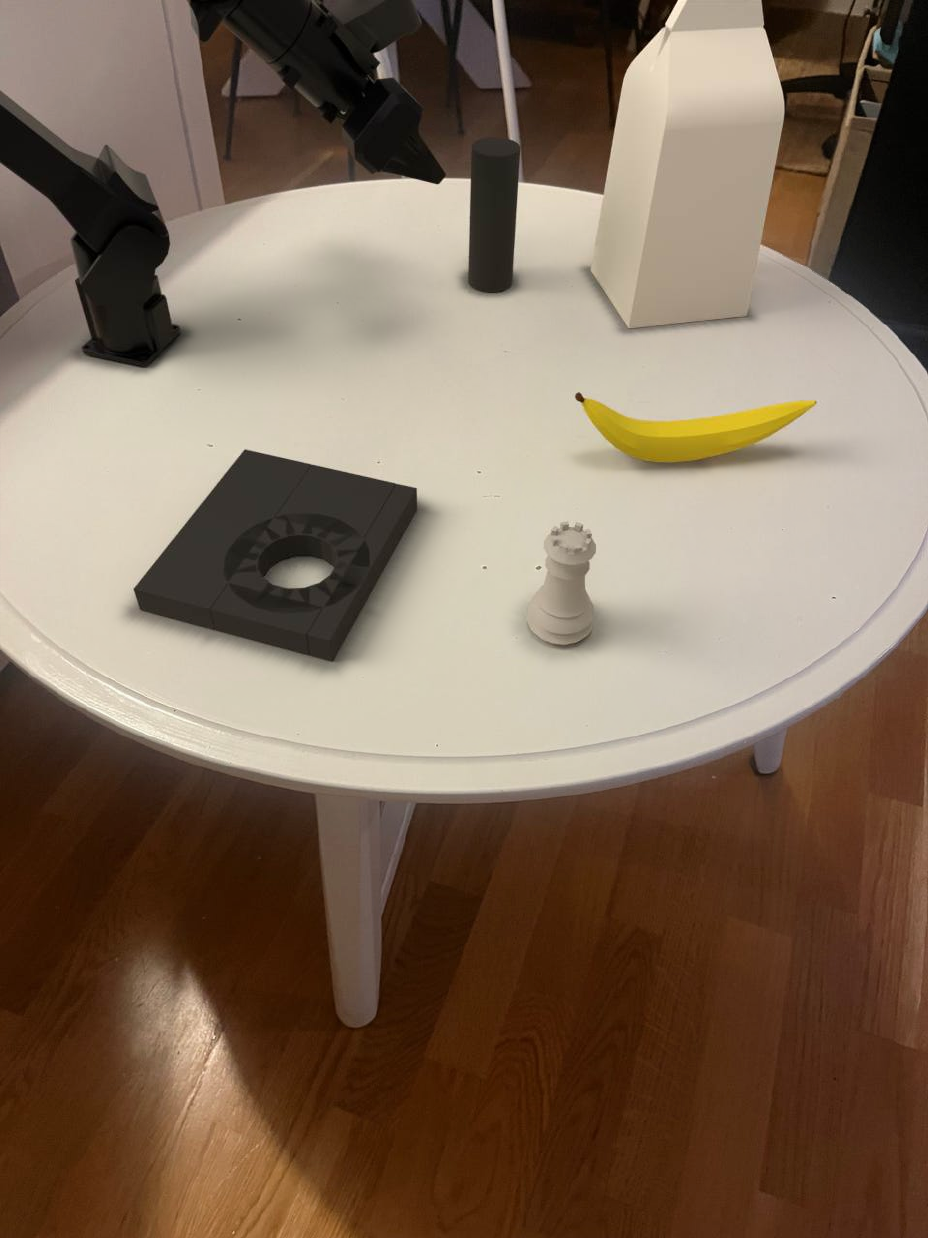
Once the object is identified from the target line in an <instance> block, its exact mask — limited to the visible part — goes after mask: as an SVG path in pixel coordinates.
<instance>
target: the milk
mask: <svg viewBox="0 0 928 1238" xmlns="http://www.w3.org/2000/svg"><path fill="white" fill-rule="evenodd" d="M763 11H764V10H763V3H762V0H677V2H676V4H675V5H674V6H673V9H672V11H671V13H670V14H669V16H668V18H667V20H666V22H665V24H664V25H665V26H664V27H662V28H661V29H660V30H659V32H657V34H655V36H654V37H653V38H652V39H651V40H650V41H649V42H648V43H647V45H645V47H644V48H643V49H642V50H641V51H640V52H639V53H638V55H636V57H635V58H633V60H632V61H631V63H630V64H629V66H628V68H627V69H626V72H625V74H624V77H623V81H622V86H621V90H620V97H619V102H618V108H617V113H616V120H615V125H614V131H613V137H612V143H611V150H610V155H609V160H608V167H607V171H606V173H607V174H606V178H605V184H604V190H603V195H602V202H601V206H600V207H601V208H600V214H599V219H598V223H597V224H598V225H597V231H596V236H595V242H594V248H593V254H592V259H591V266H590V272H591V273H592V275H593V276H594V279H596V281H597V283H598V284H599V285H600V287H601V289H602V290H603V291H604V293H605V295H606V296H607V298H608V299H609V301H610V302H611V304H612V305H613V307H614V308H615V310H616V312H617V313H618V314H619V316H620V318H621V320H622V321H623V322H624V324H625V325H626V327H627V328H628V329H636V328H646V327H655V326H665V325H676V324H684V323H694V322H702V321H703V322H704V321H714V320H723V319H731V318H732V319H733V318H744V317H748V313H749V309H750V303H751V297H752V291H753V286H754V281H755V275H756V271H757V270H756V269H757V265H758V261H759V255H760V254H759V253H760V248H761V244H762V238H763V234H764V227H765V223H766V216H767V212H768V207H769V202H770V201H769V200H770V196H771V191H772V184H773V179H774V174H775V168H776V164H777V158H778V152H779V147H780V141H781V137H782V130H783V125H784V119H785V98H784V92H783V88H782V84H781V81H780V76H779V73H778V69H777V67H776V63H775V60H774V56H773V52H772V49H771V46H770V43H769V38H768V35H767V32H766V29H765V28H764V26H765V21H764V12H763Z"/></svg>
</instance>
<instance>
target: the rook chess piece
mask: <svg viewBox="0 0 928 1238" xmlns="http://www.w3.org/2000/svg"><path fill="white" fill-rule="evenodd" d="M569 525H570V523H569V520H567V521H560V525H559V526H557V525H554V526H553V528H552V529H551V530H550V533H548V535H547V536H546V537H545V539H544V540H543V549H544V551H545V553H546V557H545V561H544V562H545V564H544V565H545V567H546V570H547V572H546V575H545V578H544V581H543V584H542V585H541V586H540V588H539V589H538V590H537V591H536V592H535V593H534V595H533V596H532V597H531V599H530V601H529V606H528V610H527V616H526V622H527V624H528V627H529V628H530V630H531V631H532V632H533V633H534V634H535V635H536V636H537V637H538V638H540V640H542V641H544V642H545V643H549V644H551V645H557V646H566V645H567V646H568V645H573V644H575V643H578V642H579V641H581V640H582V639H585V638H586V637H588V636H589V634H590V633H591V632H592V630H593V628H594V614H595V613H594V612H595V608H594V604H593V602H592V599H591V598H590V596H589V594H588V592H587V590H586V575H587V574H588V573H589V571H590V569H591V568H590V567H591V562H590V560H592V559H593V558H594V556H595V555H596V553H597V544H596V543H595V540H594V539H593V537H592V535H593V533H592V532H591V530H590V528H587V529H585V530H584V524H583V523H580V522H578V521H575V524H574V526H569Z"/></svg>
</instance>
